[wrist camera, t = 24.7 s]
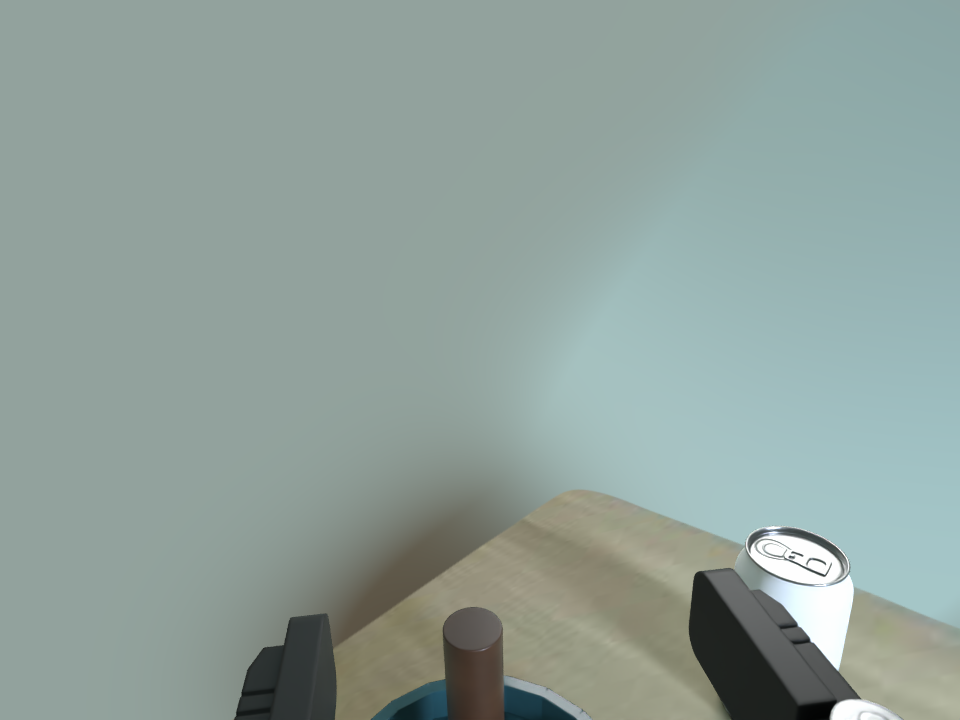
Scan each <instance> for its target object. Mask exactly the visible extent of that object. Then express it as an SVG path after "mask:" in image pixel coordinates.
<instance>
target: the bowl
mask: <svg viewBox="0 0 960 720" xmlns="http://www.w3.org/2000/svg"><path fill="white" fill-rule="evenodd" d="M371 720H448V712H447V695H446V679H444V680H439V681H435V682H430V683H427V684H425V685H423V686H421V687H419V688H417V689H415V690H413V691H411V692H409V693H407V694H405V695H403V696H401V697H399V698H397V699H395V700H393V701H391V703H389V704H388V705H387V706H386V707H384V708H383V709H382V710H381V711H380V712H379V713H378V714H376V715H375V716H374V717H373V718H372V719H371ZM504 720H592V719H591V718H590V716H589V715H588V714H587V713H586V712H585V711H583V710H582V709H581V708H579V707H578V706H576V705H574V704H573V703H571V702H570V701H568V700H566V699H565V698H563V697H562V696H560V695H558V694H557V693H555V692H554V691H552V690H550V689H548V688H547V687H543V686H540V685H537V684H534V683H530V682H527V681H524V680H520V679H517V678H514V677H511V676H504Z"/></svg>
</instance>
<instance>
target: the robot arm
mask: <svg viewBox="0 0 960 720" xmlns="http://www.w3.org/2000/svg"><path fill="white" fill-rule="evenodd" d="M689 636H690V641H691V645H692V649H693V651H694V654H695V656H696V658H697V660H698V661H699V663H700V665H701V666H702V668H703V670H704V672H705V673H706V675H707V677H708V678H709V680H710V682H711V684H712V685H713V687H714V689H715V690H716V692H717V694H718V695H719V697H720V699H721V701H722V702H723V704H724V706H725V707H726V709H727V711H728V712H729V714H730V716H731V718H732V719H733V720H903V719H902V718H901V717H900V716H898V715H897V714H896V713H894V712H892V711H891V710H889V709H887V708H885V707H883V706H881V705H879V704H876V703H874V702H870V701H866V700H862V699H861V698H860V697H859V696H858V695H857V693H856V692H855V691H854V690H853V689H852V687H851V686H850V685H849V684H848V683H847V681H846V680H845V679H844V678H843V677H842V675H841V674H840V673H839V672H838V671H837V670H836V668H835V667H834V666H833V665H832V664H831V662H830V661H829V660H828V659H827V658H826V656H825V655H824V654H823V653H822V652H821V650H820V649H819V648H818V647H817V646H816V644H815V643H814V642H813V643H812V642H811V640H810V637H809V636H808V635H807V634H806V632H805V631H804V630H803V629H802V628H801V627H799V626H798V623H797V622H796V621H795V619H794V618H793V617H792V616H791V615H790V613H789V612H788V611H787V610H786V609H785V607H784V606H783V605H782V604H781V603H779V602H778V601H776V600H775V599H773V598H772V597H770V596H769V595H767V594H766V593H764V592H763V591H761V590H760V589H757V590H750V589H749V588H748V586H747V585H746V584H745V583H744V581H743V580H742V579H741V578H740V576H739V575H738V574H737V573H736V572H735V571H734V570H733V569H731V568H725V569H716V570H708V571H699V572H697V573H696V574H695V576H694V581H693V591H692V600H691V610H690V620H689ZM336 689H337V688H336V670H335V662H334V655H333V647H332V640H331V633H330V625H329V619H328V615H327V614H317V615H309V616H300V617H292V618H290V620H289V624H288V628H287V633H286V638H285V643H284V645H282V646H274V647H265V648H263V649H262V651H261V652H260V653H259V655H258V656H257V658H256V659H255V660H254V662H253V663H252V664H251V666H250V667H249V668H248V670H247V674H246V678H245V682H244V686H243V689H242V696H241V697H240V700H239V704H238V708H237V712H236V717H235V719H234V720H335V709H336Z"/></svg>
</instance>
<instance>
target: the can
mask: <svg viewBox="0 0 960 720" xmlns="http://www.w3.org/2000/svg"><path fill="white" fill-rule="evenodd" d="M734 571H735V572H736V573H737V574H738V575H739V576H740V578H741V579H742V580H743V581H744V583H745V584H746V585H747V586H748V588H749V589H750V590H757V589H760V590H761V591H763V592H764V593H766V594H767V595H769V596H770V597H772V598H773V599H775V600H776V601H778V602H779V603H781V604H782V605H783V606H784V607H785V609H786V610H787V611H788V612H789V613H790V615H791V616H792V617H793V618H794V619H795V621H796V622H797V623H798V626H799V627H801V628H802V629H803V630H804V631H805V632H806V634H807V635H808V636H809V637H810V640H811V642H812V643H813V642H814V643H815V644H816V646H817V647H818V648H819V649H820V650H821V652H822V653H823V654H824V655H825V656H826V658H827V659H828V660H829V661H830V662H831V664H832V665H833V666H834V667H835V668H836V670H837V671H838V670H839V666H840V661H841V656H842V651H843V646H844V642H845V637H846V632H847V627H848V622H849V617H850V612H851V607H852V601H853V585H852V581H851V578H850V576H849V572H850V563H849V560H848V558H847V556H846V555H845V554H844V552H843V551H842V550H841V549H840V548H839V547H837V546H836V545H835V544H834V543H832V542H831V541H829V540H827V539H826V538H823V537H821V536H820V535H817V534H815V533H812V532H809V531H806V530H803V529H799V528H794V527H787V526H769V527H764V528H760V529H758V530H755V531H753V532H752V533H751V534H750V535H749V536H748V537H747V539H746V542H745V547H744V548H743V550H742V551H741V552H740V553H739V555H738V557H737V560H736V563H735V569H734ZM725 708H726V707H725ZM726 710H727V709H726ZM728 713H729V712H728Z"/></svg>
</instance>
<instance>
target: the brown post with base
mask: <svg viewBox="0 0 960 720" xmlns="http://www.w3.org/2000/svg"><path fill="white" fill-rule="evenodd" d="M443 646H444V663H445V679H446V695H447V712H448V720H504V673H503V628H502V623H501V621H500V619H499V618H498V617H497V616H496V615H495V614H494V613H493V612H491V611H489V610H487V609H483V608H478V607H470V608H464V609H461V610H458V611H456V612H454V613H453V614H452V615H450V616H449V617H448V618H447V620H446V621H445V623H444V626H443Z"/></svg>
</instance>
